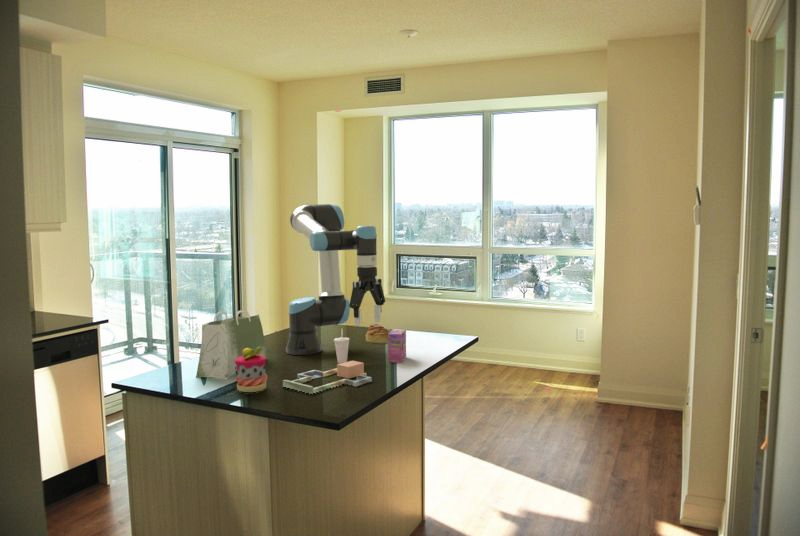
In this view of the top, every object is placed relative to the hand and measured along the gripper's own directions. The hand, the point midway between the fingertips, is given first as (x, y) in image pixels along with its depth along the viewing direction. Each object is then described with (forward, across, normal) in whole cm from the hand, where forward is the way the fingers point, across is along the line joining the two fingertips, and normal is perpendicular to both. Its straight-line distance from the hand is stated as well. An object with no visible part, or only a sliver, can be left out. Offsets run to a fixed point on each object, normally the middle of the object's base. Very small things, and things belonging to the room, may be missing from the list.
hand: (368, 323), depth 235 cm
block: (+18, -10, 0) cm, 21 cm away
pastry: (+18, +44, +34) cm, 58 cm away
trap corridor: (+18, -22, 0) cm, 28 cm away
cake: (+18, -44, +15) cm, 50 cm away
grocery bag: (+18, -30, +45) cm, 57 cm away
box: (+18, +19, +2) cm, 26 cm away
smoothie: (+18, +2, +16) cm, 25 cm away
